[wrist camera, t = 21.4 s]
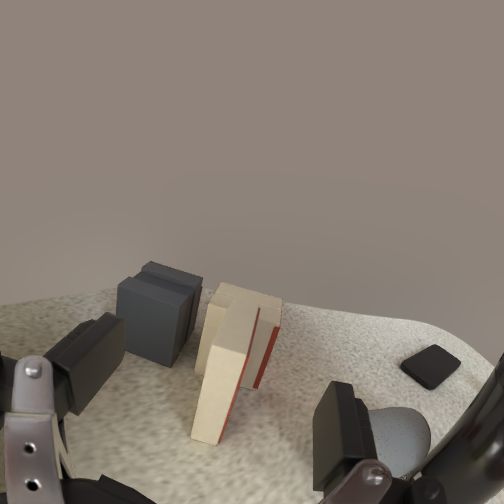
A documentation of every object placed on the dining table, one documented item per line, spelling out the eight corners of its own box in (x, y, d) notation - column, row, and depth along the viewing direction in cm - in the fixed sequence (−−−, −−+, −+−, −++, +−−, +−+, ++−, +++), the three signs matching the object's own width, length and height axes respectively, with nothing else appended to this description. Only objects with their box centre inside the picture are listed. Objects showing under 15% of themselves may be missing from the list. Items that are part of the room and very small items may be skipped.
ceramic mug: (406, 482, 20) (452, 433, 18) (341, 509, 17) (390, 462, 15) (359, 417, 29) (390, 366, 27) (297, 427, 27) (326, 371, 25)
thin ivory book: (234, 391, 30) (261, 303, 27) (218, 447, 22) (249, 356, 19) (210, 384, 30) (233, 295, 27) (189, 438, 22) (211, 344, 19)
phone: (399, 362, 41) (435, 342, 49) (396, 366, 41) (433, 346, 49) (433, 388, 35) (462, 362, 43) (430, 392, 35) (460, 365, 43)
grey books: (194, 328, 39) (205, 274, 37) (170, 368, 31) (180, 306, 28) (146, 312, 40) (153, 258, 37) (115, 346, 31) (117, 284, 29)
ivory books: (263, 351, 38) (283, 291, 36) (256, 391, 31) (281, 324, 28) (211, 336, 39) (225, 274, 36) (193, 372, 31) (208, 303, 28)
